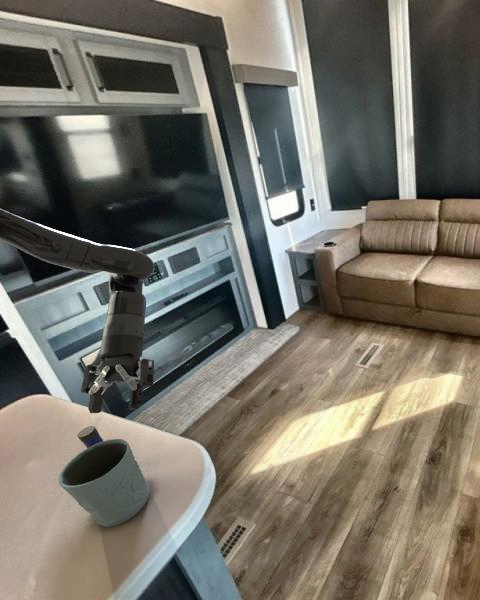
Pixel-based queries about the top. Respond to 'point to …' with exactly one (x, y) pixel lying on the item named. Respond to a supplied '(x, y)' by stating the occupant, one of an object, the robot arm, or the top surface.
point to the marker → (89, 436)
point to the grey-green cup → (106, 482)
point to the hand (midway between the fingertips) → (114, 411)
